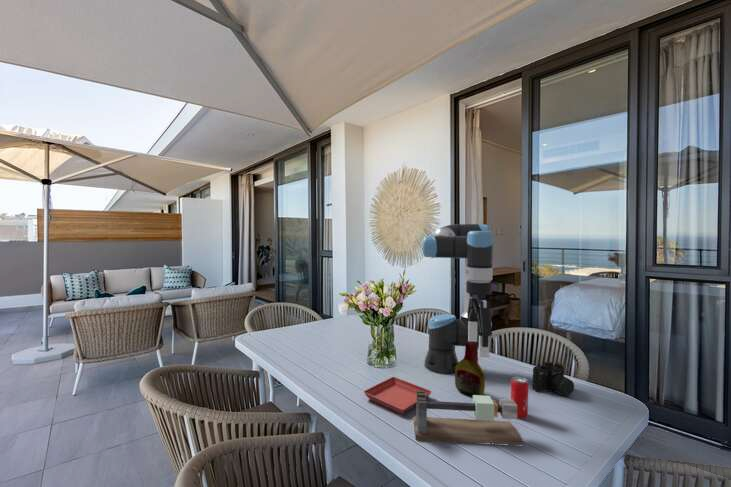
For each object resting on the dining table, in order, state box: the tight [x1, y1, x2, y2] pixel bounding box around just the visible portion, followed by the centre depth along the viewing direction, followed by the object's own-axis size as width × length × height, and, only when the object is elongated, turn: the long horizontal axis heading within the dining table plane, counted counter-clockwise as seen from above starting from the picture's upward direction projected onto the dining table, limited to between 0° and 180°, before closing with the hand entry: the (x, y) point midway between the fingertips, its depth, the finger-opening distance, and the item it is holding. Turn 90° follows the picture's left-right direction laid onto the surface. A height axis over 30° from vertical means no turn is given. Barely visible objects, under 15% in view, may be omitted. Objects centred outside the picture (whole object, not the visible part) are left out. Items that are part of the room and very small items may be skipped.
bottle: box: [454, 341, 486, 398], centre depth 127 cm, size 12×6×20 cm, turn 37°
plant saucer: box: [363, 376, 432, 414], centre depth 122 cm, size 18×18×3 cm
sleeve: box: [472, 395, 495, 421], centre depth 101 cm, size 5×5×5 cm
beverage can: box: [510, 376, 529, 419], centre depth 112 cm, size 5×5×12 cm
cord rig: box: [413, 390, 524, 446], centre depth 101 cm, size 10×30×10 cm, turn 85°
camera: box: [531, 361, 575, 397], centre depth 129 cm, size 14×11×10 cm
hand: (477, 348), depth 105 cm, fingers open, 13 cm apart
